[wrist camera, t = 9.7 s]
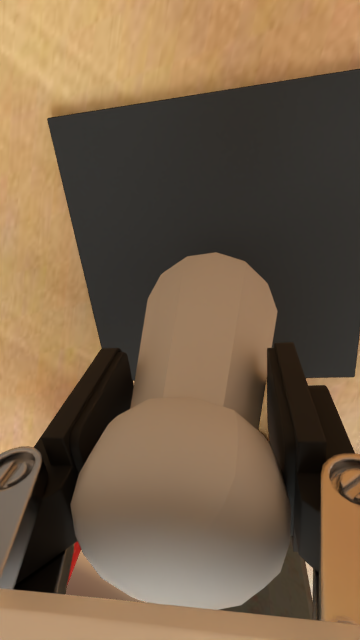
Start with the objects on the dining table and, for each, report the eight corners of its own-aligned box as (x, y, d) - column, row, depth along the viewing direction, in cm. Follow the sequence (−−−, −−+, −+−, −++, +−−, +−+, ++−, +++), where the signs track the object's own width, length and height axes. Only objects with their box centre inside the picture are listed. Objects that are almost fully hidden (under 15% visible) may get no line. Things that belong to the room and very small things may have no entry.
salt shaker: (284, 329, 18) (381, 657, 6) (183, 359, 19) (107, 660, 8) (248, 222, 16) (291, 404, 4) (139, 265, 17) (-53, 481, 6)
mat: (111, 377, 30) (109, 381, 30) (51, 119, 22) (46, 118, 21) (352, 373, 27) (354, 377, 26) (387, 66, 19) (391, 63, 18)
